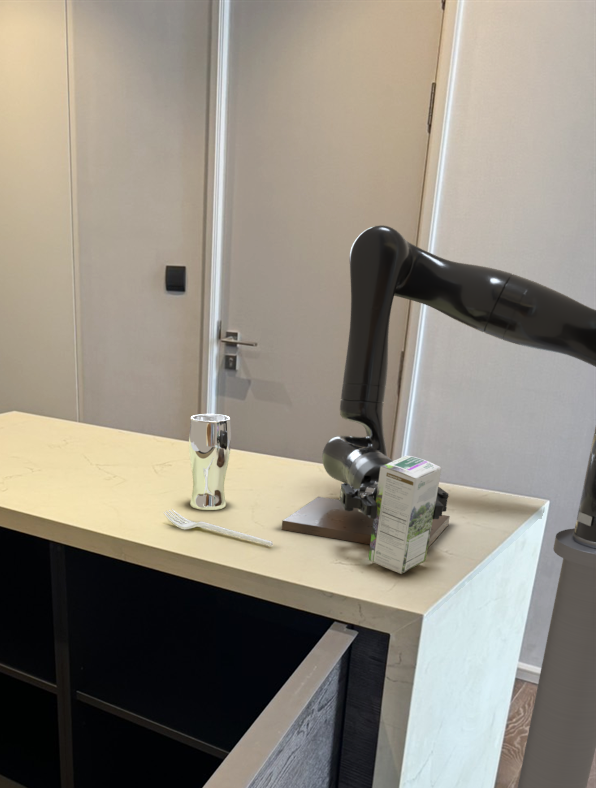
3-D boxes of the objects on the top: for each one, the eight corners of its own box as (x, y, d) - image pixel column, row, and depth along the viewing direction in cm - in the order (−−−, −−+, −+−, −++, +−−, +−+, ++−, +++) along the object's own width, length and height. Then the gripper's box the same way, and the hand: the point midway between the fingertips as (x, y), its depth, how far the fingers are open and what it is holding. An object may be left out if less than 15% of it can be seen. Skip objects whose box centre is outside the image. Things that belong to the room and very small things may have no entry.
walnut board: (448, 524, 138) (449, 515, 137) (423, 553, 125) (424, 543, 125) (317, 504, 148) (318, 496, 148) (281, 529, 135) (282, 520, 135)
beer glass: (206, 497, 152) (208, 412, 146) (236, 505, 148) (240, 417, 142) (179, 505, 148) (180, 417, 142) (209, 513, 143) (212, 423, 137)
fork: (265, 550, 126) (266, 538, 126) (161, 523, 138) (161, 512, 138) (277, 545, 129) (278, 533, 128) (173, 519, 141) (173, 507, 140)
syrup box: (392, 547, 124) (404, 452, 116) (427, 562, 120) (442, 464, 112) (367, 560, 121) (378, 464, 113) (402, 576, 117) (416, 477, 109)
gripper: (332, 456, 129) (355, 484, 114) (427, 457, 129) (463, 485, 114) (328, 505, 132) (350, 538, 117) (421, 505, 132) (455, 539, 117)
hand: (405, 512), depth 116 cm, fingers closed on syrup box, 8 cm apart
